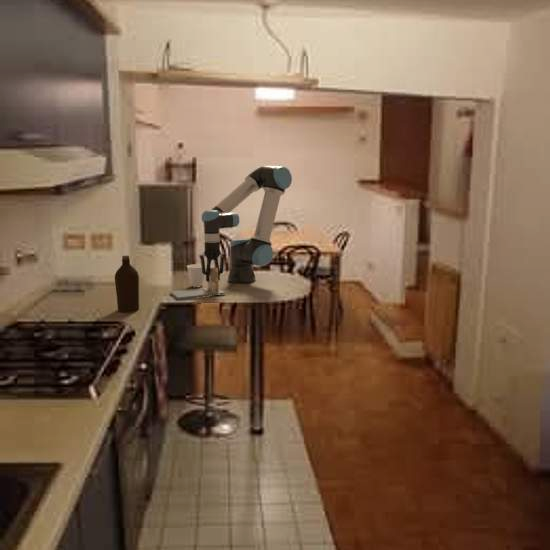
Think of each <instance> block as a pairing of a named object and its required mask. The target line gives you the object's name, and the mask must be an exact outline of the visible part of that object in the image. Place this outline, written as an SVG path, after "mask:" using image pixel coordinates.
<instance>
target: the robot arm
mask: <svg viewBox="0 0 550 550" xmlns="http://www.w3.org/2000/svg"><path fill="white" fill-rule="evenodd" d="M291 173H292V172H291V171H290V170H289V168H287V167H285V166H281V165H263V166H260V167H258V168H255V170H253V171H252V172H250V173H249V174H248V175H247V176H246V177H245V178H244V181H242V183H240V184H239V185H238V186H237V187H236V188H235V189H233V190H232V191H231V192H230V193H229V194H228V195H226V196H225V197H224V198H223V199H222V200H221V201H220V202H219V203H217V205H214V206H213V208H211V209H207V210H205V211H203V212H202V214H201V221H202V223H203V231H204V232H203V233H204V234H203V235H204V252H203V253H202V254H199V256H198V257H199V259H200V264H201V267H202V273H203V274H204V276H205V281H206V282H207V288H211V275H209V273H210V266H212V261H213V262H214V266H215V267H216V268H218V282H219V281H220V280H221V274H224V270H225V269H224V266H225V257H226V253H224V252H221V250H220V249H221V245H220V239H221V238H220V237H221V236H220V229H229V228H232V229H233V228H236V227H238V226H239V224H240V216H239V213H237V212H232V211H234V210H235V209H236V208H237V207H238V206H239V205H241V203H243V202H244V200H246V199H248V197H249V196H251V195H252V194H253V193H254V192H258V191H259V190H261V189H263V190H264V194H263V199H262V203H261V205H260V207H261V208H260V212H259V214H258V219H257V223H256V228H255V230H254V234H253V236H251V237H250V238H239V239H233V240H231V241H230V247H229V248H230V269H229V272H228V275H227V281H228V282H229V281H230V283H235V284H247V283H252V282H255V281H256V274H255V272H254V271H255V270H254V268H253V265H254V266H257V267H264V266H267V265H269V264H270V263H271V262H272V260H273V257H274V249H273V247H272V241H271V235H272V231H273V228H274V223H275V219H276V216H277V211H278V207H279V204H280V200H281V196H282V195H284V194H285V193H286V189H288V188H289V187H291V184H292V181H293V177H292V174H291ZM205 258H206V263H205ZM218 258H219V259H220V260H219V259H218Z"/></svg>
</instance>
